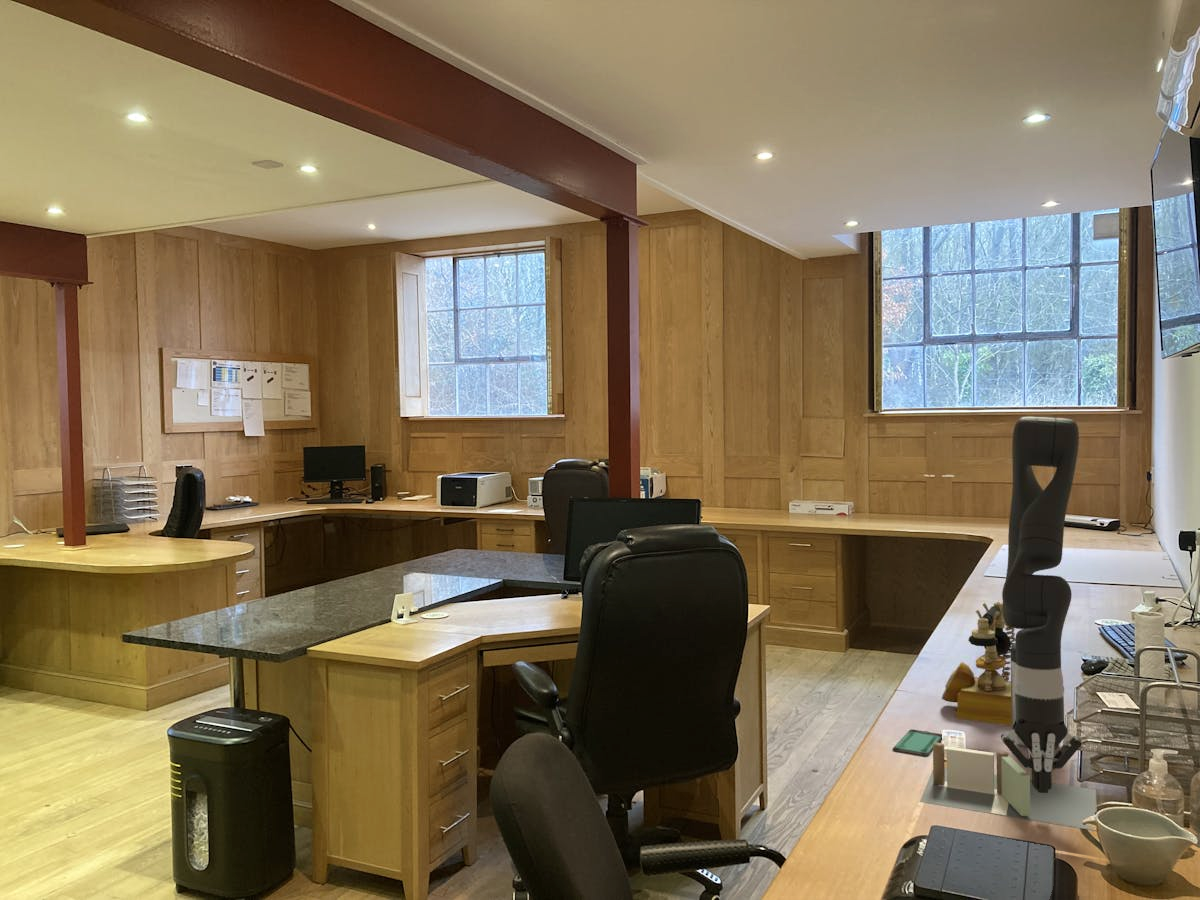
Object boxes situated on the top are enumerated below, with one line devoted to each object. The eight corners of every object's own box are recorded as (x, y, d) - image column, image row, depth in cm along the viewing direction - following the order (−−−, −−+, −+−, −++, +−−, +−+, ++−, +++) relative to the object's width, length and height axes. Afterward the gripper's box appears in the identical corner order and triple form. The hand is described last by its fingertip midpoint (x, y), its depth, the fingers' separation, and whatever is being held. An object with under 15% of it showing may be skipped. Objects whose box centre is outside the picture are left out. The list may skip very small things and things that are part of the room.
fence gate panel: (1001, 794, 165) (1001, 756, 165) (1010, 794, 165) (1009, 756, 165) (1021, 815, 156) (1020, 775, 156) (1030, 815, 156) (1029, 775, 156)
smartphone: (944, 733, 198) (927, 754, 185) (944, 739, 198) (927, 760, 185) (909, 727, 202) (890, 748, 189) (909, 733, 202) (890, 754, 189)
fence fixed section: (934, 780, 173) (933, 742, 173) (1009, 792, 167) (1008, 752, 167) (932, 784, 171) (932, 745, 171) (1008, 796, 165) (1008, 755, 165)
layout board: (934, 767, 180) (934, 765, 180) (1095, 791, 167) (1095, 788, 167) (919, 803, 164) (919, 800, 164) (1097, 833, 151) (1097, 830, 151)
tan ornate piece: (960, 683, 238) (959, 588, 237) (1035, 693, 229) (1034, 593, 228) (929, 722, 208) (928, 612, 208) (1014, 734, 199) (1013, 620, 198)
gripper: (1073, 685, 159) (1076, 784, 159) (992, 684, 161) (995, 781, 162) (1088, 698, 152) (1090, 801, 152) (1003, 696, 154) (1006, 798, 154)
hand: (1041, 791), depth 157 cm, fingers closed
